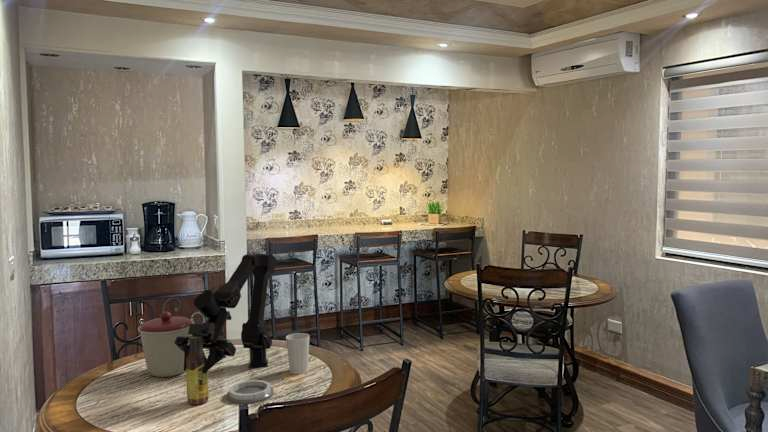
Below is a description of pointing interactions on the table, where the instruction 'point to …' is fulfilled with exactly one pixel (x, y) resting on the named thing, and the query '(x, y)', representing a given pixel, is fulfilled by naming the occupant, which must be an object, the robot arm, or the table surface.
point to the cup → (298, 352)
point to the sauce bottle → (196, 372)
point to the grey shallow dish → (250, 392)
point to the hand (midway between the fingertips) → (193, 371)
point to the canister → (164, 344)
